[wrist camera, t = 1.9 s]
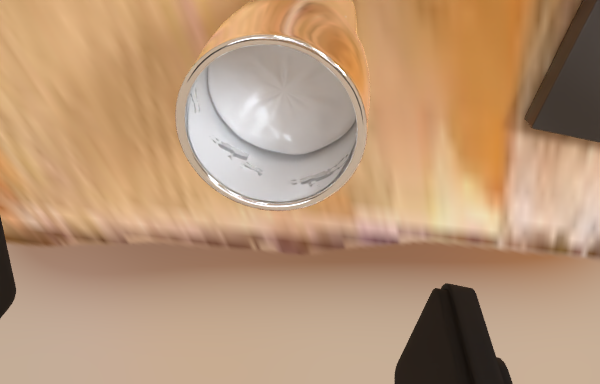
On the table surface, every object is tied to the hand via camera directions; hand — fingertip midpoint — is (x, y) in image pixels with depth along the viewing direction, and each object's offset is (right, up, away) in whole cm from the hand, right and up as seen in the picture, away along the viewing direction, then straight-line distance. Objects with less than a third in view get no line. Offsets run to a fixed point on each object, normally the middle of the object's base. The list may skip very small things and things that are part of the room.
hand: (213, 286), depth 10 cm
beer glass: (+2, +12, +18) cm, 22 cm away
